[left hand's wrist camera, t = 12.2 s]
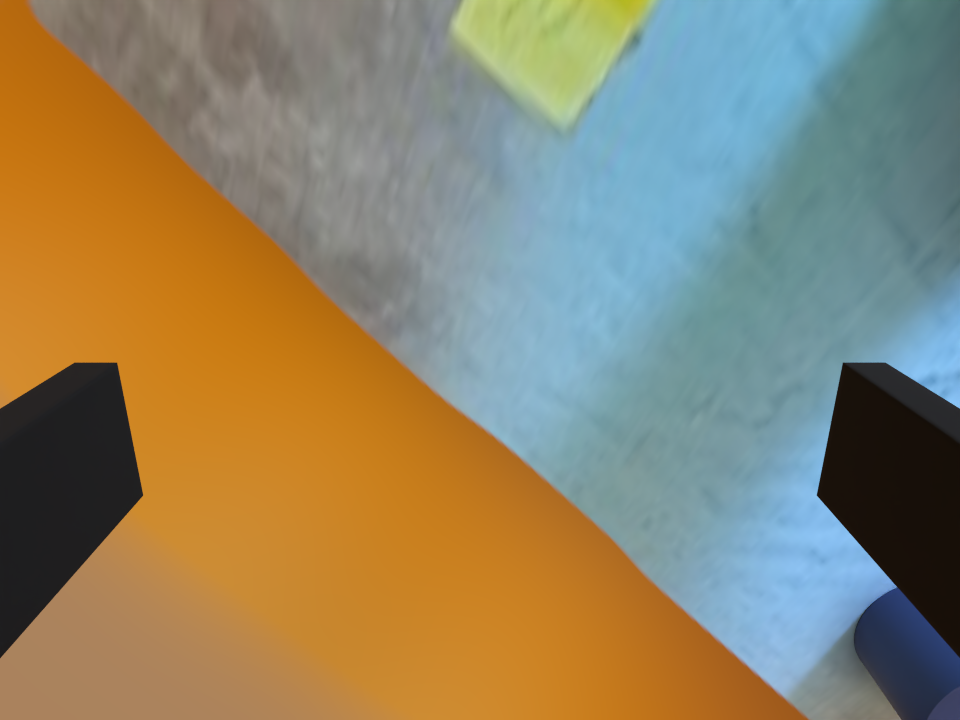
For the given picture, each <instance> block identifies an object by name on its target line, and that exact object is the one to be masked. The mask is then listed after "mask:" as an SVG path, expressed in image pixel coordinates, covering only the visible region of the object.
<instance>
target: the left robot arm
mask: <svg viewBox="0 0 960 720" xmlns="http://www.w3.org/2000/svg"><path fill="white" fill-rule="evenodd" d="M142 496H143V492H142V487H141V482H140V477H139V472H138V467H137V462H136V457H135V452H134V447H133V442H132V436H131V431H130V426H129V421H128V416H127V411H126V406H125V401H124V396H123V391H122V386H121V380H120V375H119V370H118V365H117V363H74V364H72V365H70V366H69V367H67V368H65V369H64V370H62V371H61V372H59V373H57V374H56V375H54V376H52V377H51V378H49V379H48V380H46V381H44V382H43V383H41V384H39V385H38V386H36V387H35V388H33V389H31V390H30V391H28V392H27V393H25V394H23V395H22V396H20V397H18V398H17V399H15V400H14V401H12V402H10V403H9V404H7V405H6V406H4V407H2V408H1V409H0V658H1V657H2V655H3V654H4V653H5V652H6V651H7V650H8V649H9V648H10V646H11V645H12V644H13V643H14V642H15V641H16V640H17V638H18V637H19V636H20V635H21V634H22V633H23V632H24V630H25V629H26V628H27V627H28V626H29V625H30V624H31V622H32V621H33V620H34V619H35V618H36V617H37V616H38V615H39V613H40V612H41V611H42V610H43V609H44V608H45V607H46V605H47V604H48V603H49V602H50V601H51V600H52V599H53V597H54V596H55V595H56V594H57V593H58V592H59V591H60V589H61V588H62V587H63V586H64V585H65V584H66V583H67V581H68V580H69V579H70V578H71V577H72V576H73V575H74V573H75V572H76V571H77V570H78V569H79V568H80V567H81V565H82V564H83V563H84V562H85V561H86V560H87V559H88V558H89V556H90V555H91V554H92V553H93V552H94V551H95V550H96V549H97V547H98V546H99V545H100V544H101V543H102V542H103V541H104V539H105V538H106V537H107V536H108V535H109V534H110V533H111V531H112V530H113V529H114V528H115V527H116V526H117V525H118V523H119V522H120V521H121V520H122V519H123V518H124V517H125V515H126V514H127V513H128V512H129V511H130V510H131V509H132V508H133V506H134V505H135V504H136V503H137V502H138V501H139V500H140V498H141V497H142ZM817 496H818V497H819V498H820V500H821V501H822V502H823V503H824V504H825V505H826V506H827V508H828V509H829V510H830V511H831V512H832V513H833V514H834V515H835V517H836V518H837V519H838V520H839V521H840V522H841V523H842V525H843V526H844V527H845V528H846V529H847V530H848V531H849V533H850V534H851V535H852V536H853V537H854V538H855V539H856V541H857V542H858V543H859V544H860V545H861V546H862V547H863V549H864V550H865V551H866V552H867V553H868V554H869V555H870V556H871V558H872V559H873V560H874V561H875V562H876V563H877V564H878V566H879V567H880V568H881V569H882V570H883V571H884V572H885V574H886V575H887V576H888V577H889V578H890V579H891V580H892V582H893V583H894V584H895V585H896V586H897V587H898V588H899V589H900V591H901V592H902V593H903V594H904V595H905V596H906V597H907V599H908V600H909V601H910V602H911V603H912V604H913V605H914V607H915V608H916V609H917V610H918V611H919V612H920V613H921V615H922V616H923V617H924V618H925V619H926V620H927V621H928V623H929V624H930V625H931V626H932V627H933V628H934V629H935V630H936V632H937V633H938V634H939V635H940V636H941V637H942V638H943V640H944V641H945V642H946V643H947V644H948V645H949V646H950V648H951V649H952V650H953V651H954V652H955V653H956V654H957V656H958V657H959V658H960V409H959V408H958V407H956V406H954V405H953V404H951V403H950V402H948V401H946V400H945V399H943V398H942V397H940V396H938V395H937V394H935V393H933V392H932V391H930V390H929V389H927V388H925V387H924V386H922V385H921V384H919V383H917V382H916V381H914V380H912V379H911V378H909V377H908V376H906V375H904V374H903V373H901V372H900V371H898V370H896V369H895V368H893V367H891V366H890V365H888V364H887V363H843V365H842V370H841V375H840V380H839V386H838V391H837V396H836V401H835V406H834V411H833V416H832V421H831V426H830V431H829V436H828V441H827V446H826V452H825V457H824V462H823V467H822V472H821V477H820V482H819V487H818V492H817Z"/></svg>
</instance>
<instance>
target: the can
mask: <svg viewBox="0 0 960 720" xmlns="http://www.w3.org/2000/svg"><path fill="white" fill-rule="evenodd" d="M854 642H855V649H856V652H857V655H858V657H859V658H860V660H861V661H862V663H863V664H864V666H865V667H866V669H867V670H868V672H869V673H870V674H871V676H872V677H873V679H874V680H875V682H876V683H877V685H878V686H879V688H880V689H881V690H882V692H883V693H884V695H885V696H886V698H887V699H888V701H889V702H890V704H891V705H892V706H893V708H894V709H895V711H896V712H897V714H898V715H899V717H900V718H901V720H960V658H959V657H958V656H957V654H956V653H955V652H954V651H953V650H952V649H951V648H950V646H949V645H948V644H947V643H946V642H945V641H944V640H943V638H942V637H941V636H940V635H939V634H938V633H937V632H936V630H935V629H934V628H933V627H932V626H931V625H930V624H929V623H928V621H927V620H926V619H925V618H924V617H923V616H922V615H921V613H920V612H919V611H918V610H917V609H916V608H915V607H914V605H913V604H912V603H911V602H910V601H909V600H908V599H907V597H906V596H905V595H904V594H903V593H902V592H901V591H900V589H899V588H897V589H894V590H892V591H890V592H888V593H886V594H885V595H883V596H882V597H880V598H879V599H877V600H876V601H875V602H874V603H873V604H872V605H871V606H870V607H869V608H868V609H867V610H866V611H865V613H864V614H863V615H862V617H861V619H860V620H859V622H858V625H857V627H856V631H855V638H854Z"/></svg>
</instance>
